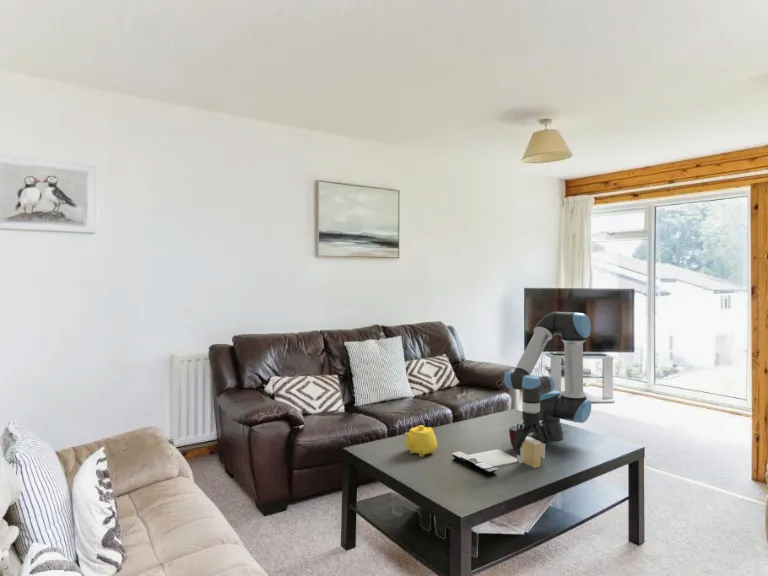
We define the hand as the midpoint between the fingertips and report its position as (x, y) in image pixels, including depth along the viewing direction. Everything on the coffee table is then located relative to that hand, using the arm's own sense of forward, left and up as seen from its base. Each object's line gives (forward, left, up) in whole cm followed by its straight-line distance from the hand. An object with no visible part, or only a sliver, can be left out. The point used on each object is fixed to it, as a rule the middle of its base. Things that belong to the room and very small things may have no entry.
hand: (531, 459), depth 220 cm
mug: (-7, -16, -2) cm, 18 cm away
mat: (+13, -12, -2) cm, 18 cm away
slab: (0, 0, -2) cm, 2 cm away
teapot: (+38, -33, -2) cm, 50 cm away
